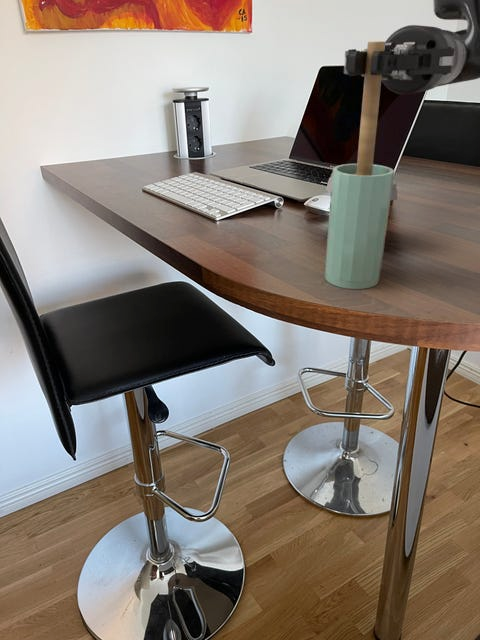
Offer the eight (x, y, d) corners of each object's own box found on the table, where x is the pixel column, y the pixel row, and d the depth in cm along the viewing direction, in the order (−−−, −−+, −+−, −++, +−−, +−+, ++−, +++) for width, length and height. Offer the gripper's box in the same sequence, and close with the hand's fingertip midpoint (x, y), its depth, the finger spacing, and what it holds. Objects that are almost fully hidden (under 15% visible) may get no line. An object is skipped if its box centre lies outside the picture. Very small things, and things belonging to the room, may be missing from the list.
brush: (372, 220, 64) (391, 41, 54) (378, 230, 60) (400, 40, 51) (340, 220, 64) (354, 42, 54) (344, 230, 60) (360, 41, 51)
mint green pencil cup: (373, 268, 68) (387, 163, 62) (383, 289, 62) (399, 176, 56) (322, 267, 69) (330, 163, 62) (327, 288, 63) (336, 176, 56)
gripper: (371, 28, 65) (306, 24, 53) (482, 23, 58) (436, 17, 46) (365, 91, 69) (303, 101, 57) (470, 93, 62) (424, 105, 49)
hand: (363, 63), depth 51 cm, fingers closed on brush, 2 cm apart
